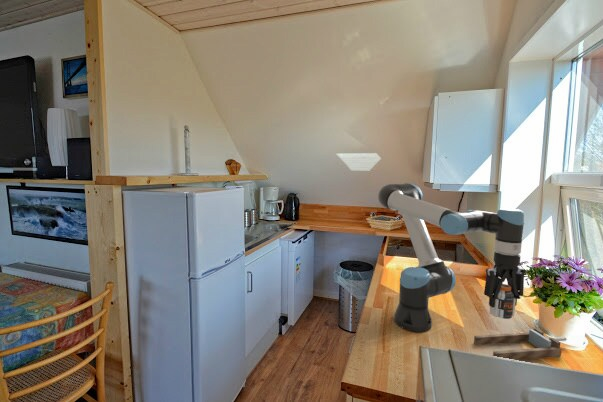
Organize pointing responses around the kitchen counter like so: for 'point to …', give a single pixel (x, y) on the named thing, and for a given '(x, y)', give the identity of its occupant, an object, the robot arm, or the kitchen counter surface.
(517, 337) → the lane
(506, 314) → the pill bottle
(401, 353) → the kitchen counter surface
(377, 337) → the kitchen counter surface
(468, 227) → the robot arm
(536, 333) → the pusher
